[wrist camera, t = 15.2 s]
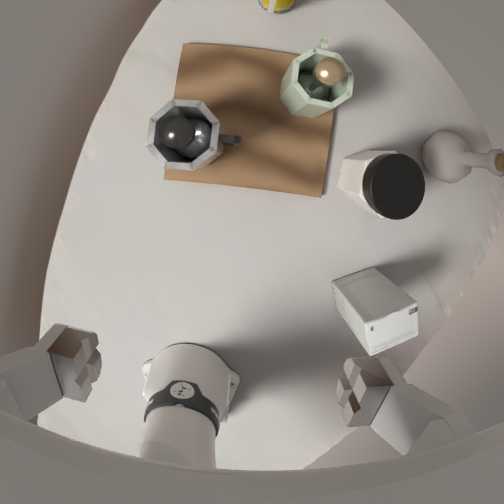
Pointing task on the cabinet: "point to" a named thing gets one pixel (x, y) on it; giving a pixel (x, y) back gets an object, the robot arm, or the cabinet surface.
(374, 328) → the skincare box
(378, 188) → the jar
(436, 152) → the potion bottle
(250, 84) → the serving board
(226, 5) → the cabinet surface
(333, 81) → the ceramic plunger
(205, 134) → the steel plunger
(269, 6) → the supplement bottle
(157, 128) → the steel press
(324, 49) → the pale green octagonal mug
